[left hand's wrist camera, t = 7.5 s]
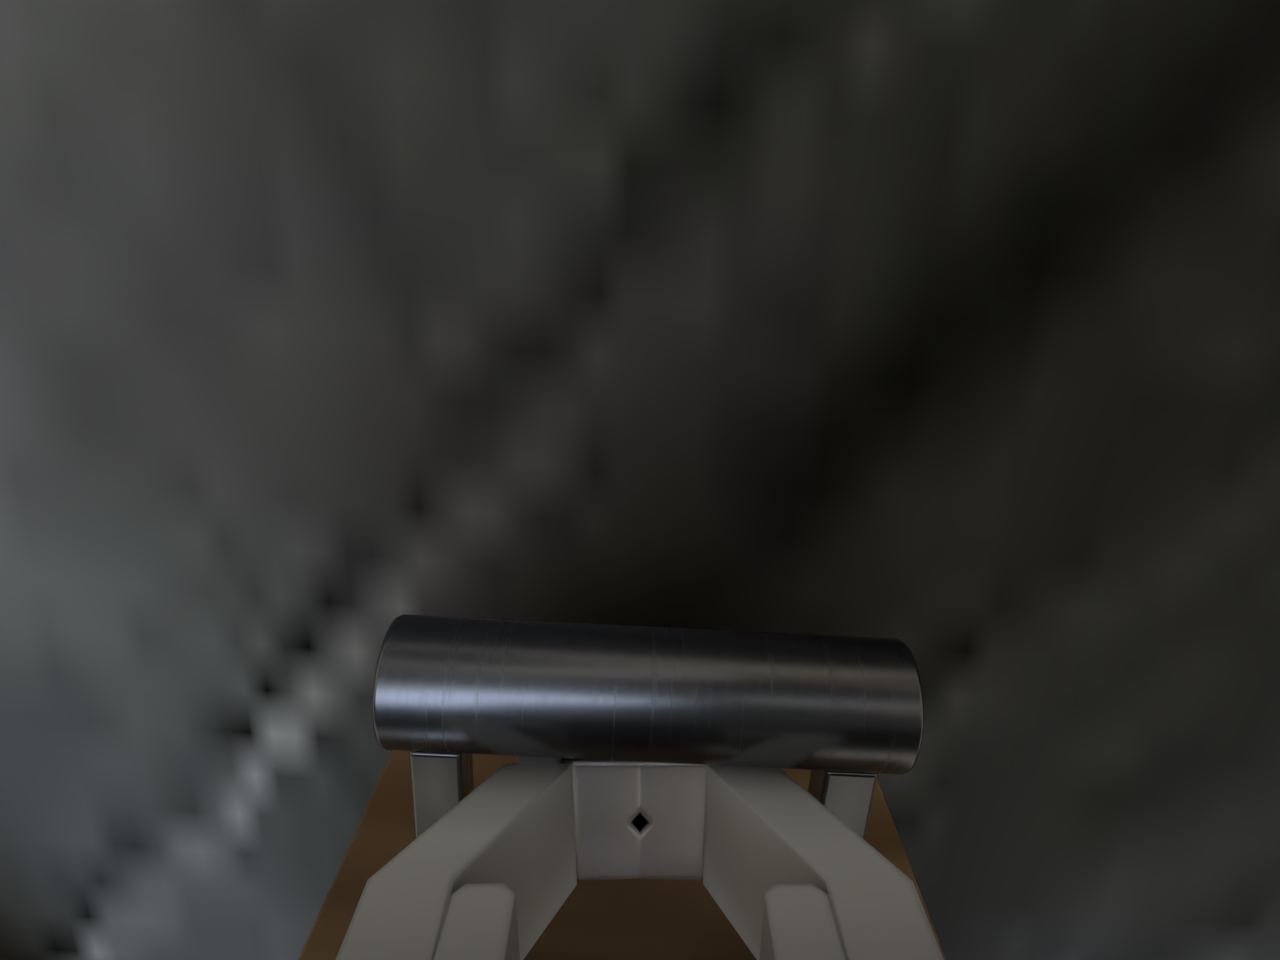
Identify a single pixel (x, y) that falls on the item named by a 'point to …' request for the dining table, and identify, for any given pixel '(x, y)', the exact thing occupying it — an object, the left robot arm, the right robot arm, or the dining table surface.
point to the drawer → (626, 748)
